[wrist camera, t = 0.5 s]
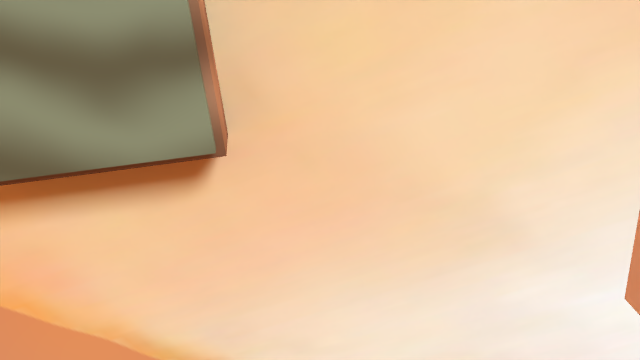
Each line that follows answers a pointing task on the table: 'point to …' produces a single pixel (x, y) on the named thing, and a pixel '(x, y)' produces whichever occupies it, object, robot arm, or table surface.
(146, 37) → the sage green square panel
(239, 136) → the table surface
